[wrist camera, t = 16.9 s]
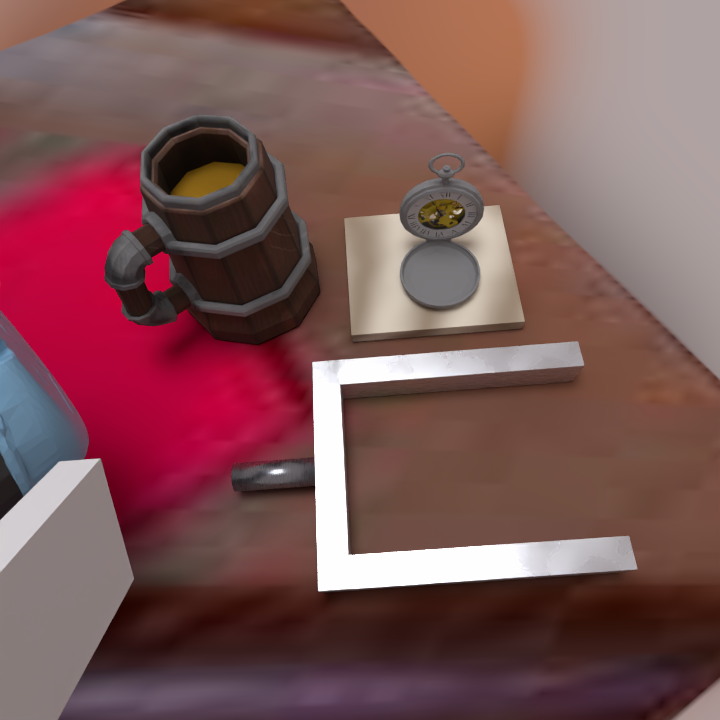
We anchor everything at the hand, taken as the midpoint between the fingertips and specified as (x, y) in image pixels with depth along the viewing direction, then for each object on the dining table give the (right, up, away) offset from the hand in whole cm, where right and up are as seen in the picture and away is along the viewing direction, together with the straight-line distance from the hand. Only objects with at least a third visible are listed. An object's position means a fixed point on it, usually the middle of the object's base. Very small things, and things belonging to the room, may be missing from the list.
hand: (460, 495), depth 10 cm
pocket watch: (+5, +10, +36) cm, 38 cm away
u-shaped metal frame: (+2, -6, +30) cm, 31 cm away
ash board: (+4, +10, +37) cm, 39 cm away
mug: (-13, +8, +37) cm, 40 cm away
